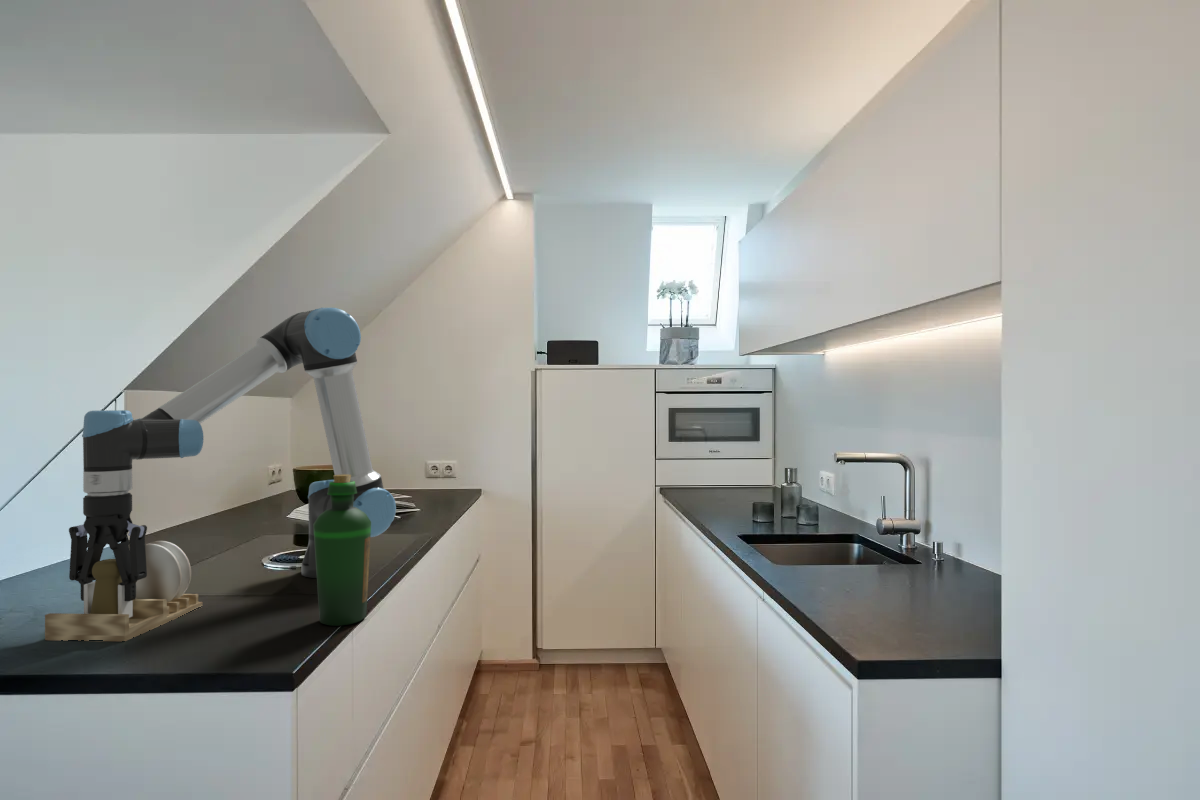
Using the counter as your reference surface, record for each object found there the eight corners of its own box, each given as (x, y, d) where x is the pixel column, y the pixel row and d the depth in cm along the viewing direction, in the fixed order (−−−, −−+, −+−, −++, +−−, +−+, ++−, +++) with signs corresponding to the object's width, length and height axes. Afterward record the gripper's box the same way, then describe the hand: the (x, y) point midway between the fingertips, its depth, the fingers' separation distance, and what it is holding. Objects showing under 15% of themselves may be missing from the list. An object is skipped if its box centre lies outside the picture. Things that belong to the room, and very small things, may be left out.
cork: (101, 614, 136) (102, 556, 136) (135, 613, 136) (135, 556, 136) (81, 624, 130) (81, 563, 130) (116, 623, 130) (116, 563, 130)
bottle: (383, 615, 142) (382, 473, 142) (347, 631, 132) (346, 478, 132) (338, 610, 145) (338, 472, 145) (300, 626, 135) (300, 477, 135)
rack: (202, 606, 149) (202, 539, 149) (124, 641, 127) (124, 562, 127) (133, 605, 150) (133, 538, 150) (44, 640, 128) (44, 561, 128)
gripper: (43, 495, 130) (43, 623, 130) (142, 495, 129) (142, 625, 128) (76, 490, 137) (76, 611, 137) (170, 490, 136) (170, 613, 136)
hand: (108, 618), depth 133 cm, fingers closed on cork, 6 cm apart
